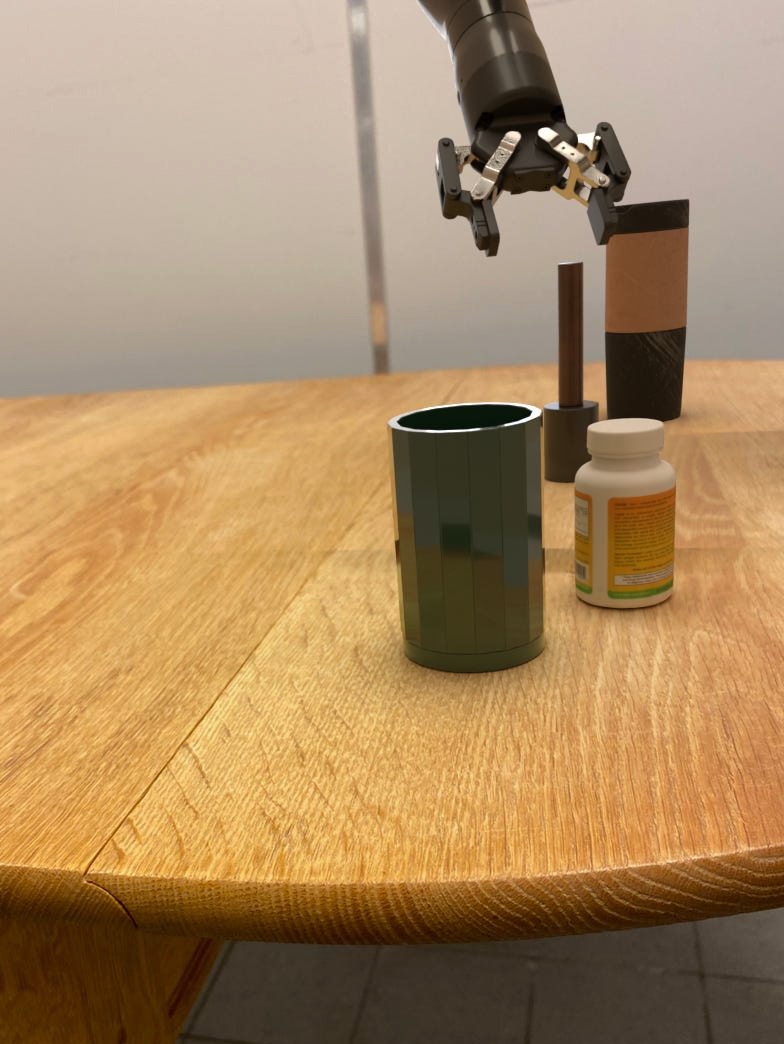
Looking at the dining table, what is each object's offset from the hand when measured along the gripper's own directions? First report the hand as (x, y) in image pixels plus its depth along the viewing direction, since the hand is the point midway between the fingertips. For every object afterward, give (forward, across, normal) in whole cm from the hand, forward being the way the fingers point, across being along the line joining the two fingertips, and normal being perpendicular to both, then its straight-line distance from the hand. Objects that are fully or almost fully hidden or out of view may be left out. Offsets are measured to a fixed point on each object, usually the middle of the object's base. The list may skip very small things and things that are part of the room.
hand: (550, 242), depth 79 cm
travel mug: (-3, +16, +29) cm, 33 cm away
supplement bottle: (+32, -4, -6) cm, 33 cm away
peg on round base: (+16, 0, +10) cm, 19 cm away
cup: (+35, -14, -9) cm, 39 cm away
